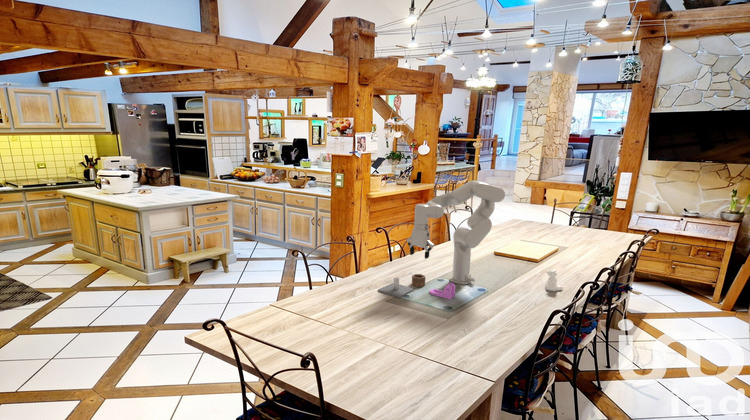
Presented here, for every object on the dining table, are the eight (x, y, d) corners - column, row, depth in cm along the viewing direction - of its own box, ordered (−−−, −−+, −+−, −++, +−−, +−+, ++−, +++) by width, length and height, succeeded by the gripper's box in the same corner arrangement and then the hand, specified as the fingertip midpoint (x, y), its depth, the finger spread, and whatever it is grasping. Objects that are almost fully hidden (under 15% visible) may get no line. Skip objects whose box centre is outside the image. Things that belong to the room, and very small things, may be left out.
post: (414, 290, 222) (414, 278, 220) (399, 298, 211) (399, 285, 210) (393, 284, 230) (393, 272, 229) (377, 291, 220) (378, 278, 218)
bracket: (454, 296, 216) (455, 283, 214) (450, 299, 211) (451, 286, 210) (432, 290, 223) (433, 278, 222) (427, 293, 218) (428, 281, 217)
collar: (426, 284, 231) (427, 276, 230) (420, 287, 226) (420, 279, 225) (416, 281, 235) (416, 273, 234) (409, 284, 230) (410, 276, 229)
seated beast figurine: (563, 289, 228) (565, 269, 225) (557, 294, 221) (560, 273, 219) (546, 285, 234) (548, 265, 232) (540, 289, 228) (542, 268, 225)
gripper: (438, 228, 222) (436, 258, 225) (411, 222, 233) (410, 251, 236) (430, 230, 216) (428, 261, 219) (404, 224, 227) (402, 254, 230)
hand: (419, 256), depth 228 cm, fingers open, 9 cm apart
